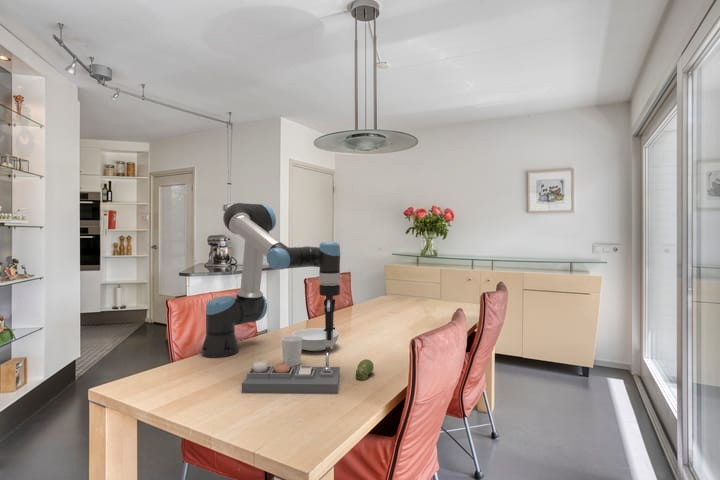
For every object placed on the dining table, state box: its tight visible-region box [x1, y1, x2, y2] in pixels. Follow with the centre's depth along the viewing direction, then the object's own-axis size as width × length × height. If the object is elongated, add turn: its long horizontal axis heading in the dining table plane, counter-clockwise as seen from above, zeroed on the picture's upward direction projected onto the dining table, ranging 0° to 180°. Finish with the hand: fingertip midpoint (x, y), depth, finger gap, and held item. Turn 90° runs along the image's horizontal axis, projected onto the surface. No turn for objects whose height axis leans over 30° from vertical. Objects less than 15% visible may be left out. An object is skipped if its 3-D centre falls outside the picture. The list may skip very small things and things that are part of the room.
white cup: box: [281, 335, 303, 367], centre depth 153 cm, size 8×8×10 cm
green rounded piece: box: [354, 359, 375, 381], centre depth 140 cm, size 6×5×10 cm
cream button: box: [252, 359, 269, 373], centre depth 132 cm, size 5×5×3 cm
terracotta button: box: [274, 363, 290, 373], centre depth 133 cm, size 5×5×3 cm
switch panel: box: [241, 365, 341, 394], centre depth 133 cm, size 16×31×5 cm, turn 90°
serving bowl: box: [291, 327, 339, 352], centre depth 173 cm, size 21×21×7 cm
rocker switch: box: [298, 365, 313, 375], centre depth 133 cm, size 5×4×1 cm
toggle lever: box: [323, 346, 332, 372], centre depth 134 cm, size 2×2×8 cm
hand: (329, 348), depth 141 cm, fingers closed
